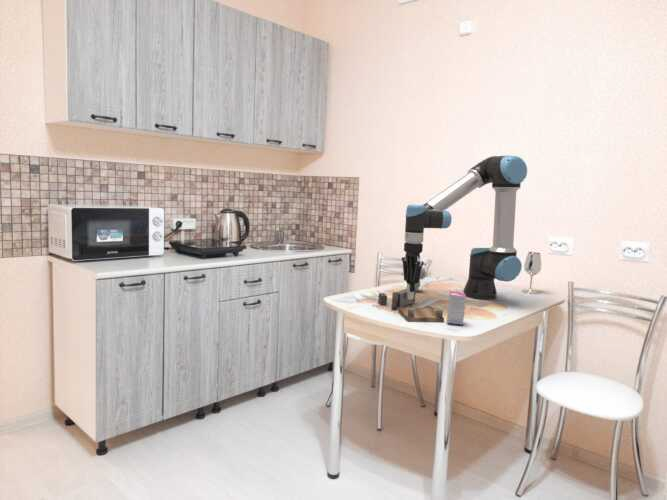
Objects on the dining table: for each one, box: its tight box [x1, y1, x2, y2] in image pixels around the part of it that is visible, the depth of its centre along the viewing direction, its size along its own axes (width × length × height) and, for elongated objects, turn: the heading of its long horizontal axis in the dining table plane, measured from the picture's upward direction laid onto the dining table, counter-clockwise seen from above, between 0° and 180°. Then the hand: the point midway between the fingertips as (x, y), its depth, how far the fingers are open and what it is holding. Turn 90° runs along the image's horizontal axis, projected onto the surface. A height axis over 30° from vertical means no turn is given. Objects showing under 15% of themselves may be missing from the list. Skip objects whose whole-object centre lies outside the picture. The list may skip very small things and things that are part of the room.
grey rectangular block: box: [396, 288, 417, 309], centre depth 211 cm, size 14×3×6 cm, turn 146°
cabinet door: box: [390, 291, 445, 323], centre depth 197 cm, size 16×18×7 cm
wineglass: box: [521, 251, 542, 295], centre depth 251 cm, size 8×8×20 cm
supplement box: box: [446, 291, 467, 327], centre depth 188 cm, size 6×6×12 cm
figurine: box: [415, 266, 426, 292], centre depth 240 cm, size 8×8×12 cm
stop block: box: [377, 292, 388, 306], centre depth 212 cm, size 2×5×4 cm, turn 7°
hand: (410, 298), depth 209 cm, fingers closed
